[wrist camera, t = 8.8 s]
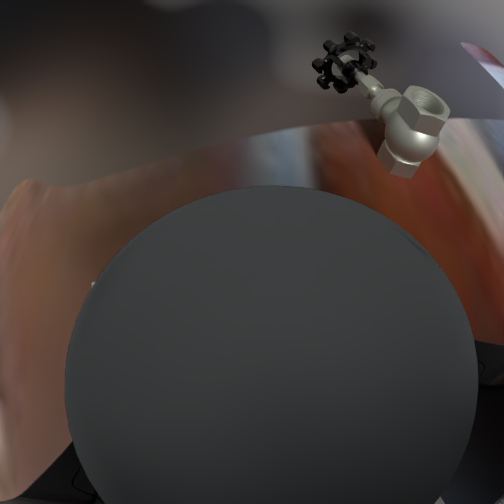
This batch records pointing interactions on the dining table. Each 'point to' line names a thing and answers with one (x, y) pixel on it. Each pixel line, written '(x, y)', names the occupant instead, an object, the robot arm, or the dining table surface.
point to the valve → (388, 106)
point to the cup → (271, 359)
